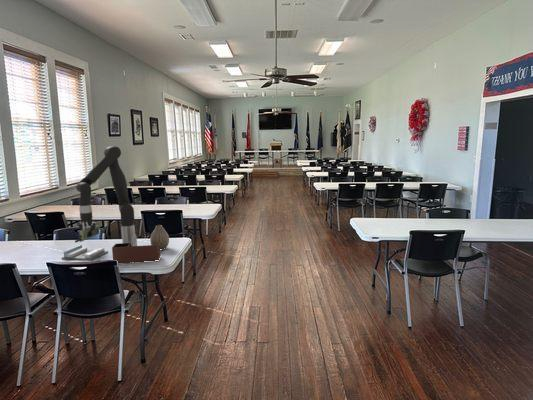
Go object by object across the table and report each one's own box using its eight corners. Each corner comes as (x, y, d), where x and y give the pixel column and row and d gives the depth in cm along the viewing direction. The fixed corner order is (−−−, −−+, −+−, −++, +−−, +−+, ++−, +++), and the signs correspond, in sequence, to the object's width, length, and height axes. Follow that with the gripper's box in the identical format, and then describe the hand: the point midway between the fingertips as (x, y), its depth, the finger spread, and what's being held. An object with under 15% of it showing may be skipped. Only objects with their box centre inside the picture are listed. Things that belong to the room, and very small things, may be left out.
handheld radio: (100, 234, 259) (78, 243, 234) (95, 233, 259) (73, 243, 235) (100, 225, 258) (78, 234, 233) (95, 224, 258) (73, 233, 234)
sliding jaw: (87, 250, 257) (86, 245, 257) (72, 257, 242) (71, 251, 241) (79, 250, 258) (79, 244, 258) (64, 257, 243) (63, 251, 242)
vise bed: (108, 252, 256) (107, 247, 255) (92, 260, 238) (91, 255, 238) (79, 251, 260) (79, 246, 259) (61, 259, 242) (61, 254, 242)
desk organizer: (116, 259, 240) (115, 243, 239) (161, 256, 245) (160, 240, 243) (112, 264, 230) (110, 247, 228) (159, 261, 234) (158, 245, 233)
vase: (158, 252, 253) (156, 228, 250) (147, 249, 261) (145, 226, 258) (173, 248, 263) (171, 225, 261) (162, 245, 271) (160, 223, 269)
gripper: (98, 210, 246) (100, 235, 249) (80, 210, 249) (82, 234, 251) (91, 212, 239) (94, 238, 242) (72, 212, 241) (75, 237, 244)
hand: (88, 236), depth 246 cm, fingers closed on handheld radio, 3 cm apart
